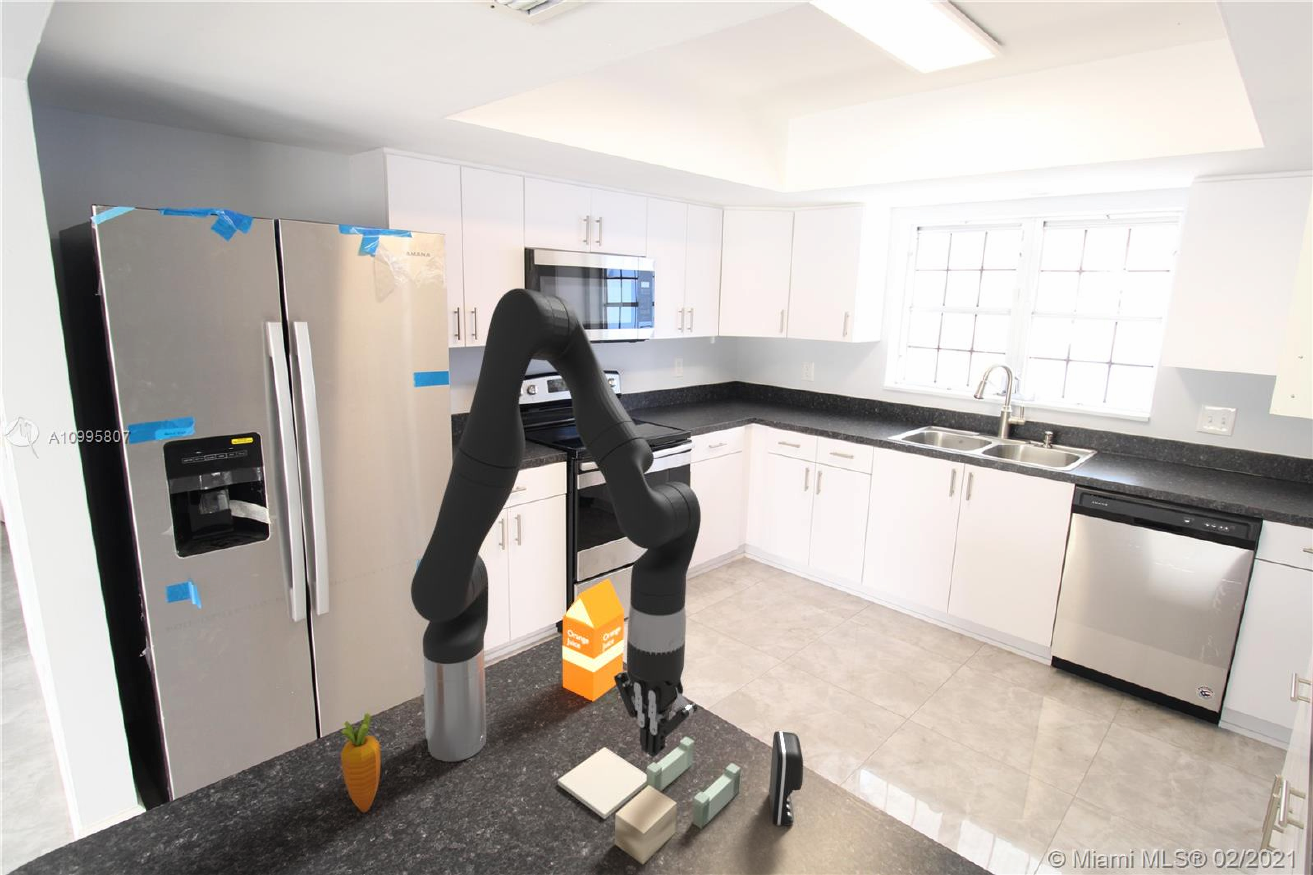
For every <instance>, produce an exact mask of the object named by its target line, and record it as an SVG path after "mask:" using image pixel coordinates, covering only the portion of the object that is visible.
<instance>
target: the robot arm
mask: <svg viewBox="0 0 1313 875" xmlns="http://www.w3.org/2000/svg"><path fill="white" fill-rule="evenodd" d="M532 360H534V361H535V360H537V361H544V362H545V361H547V362H548V363H549V364H550V365H551V366H552V368H553V369H554V370H555V371H556V372H557V374H558V375H559V376H560V377H561V379H562V380H563V382H564V383H565V386H566V387H567V389H568V392H569V394H570V398H571V405H572V412H573V419H574V423H575V424H574V425H575V428H576V431H577V433H578V434H577V435H578V436H579V439H580V440H581V442H582V444H583V446H584V449H586V451H587V452H588V454H589V456H590V457H591V459H592V460H593V462H594V464H595V465H596V467H597V468H598V471H599V472H600V473H601V474H602V476H603V478H604V481H605V485H606V488H607V492H608V494H609V498H610V501H611V504H612V508H613V511H614V514H615V517H616V521H617V523H618V526H619V527H620V530H621V532H622V533H623V535H624V536H625V537H626V538H627V539H628V540H629V541H630V542H631V543H633V545H636V546H637V547H640V548H642V549H646V551H645V552H644V553H643V554H642V555H641V556H640V557H638V558H637V559H636V560H635V561H634V563H633V565H632V568H631V577H630V598H629V599H630V601H629V602H630V603H629V609H628V613H627V614H628V616H627V633H626V634H627V640H626V669H623V671H621V672H620V673H618V674H617V675H615V676H614V680H615V683H616V685H615V686H616V687H617V690H618V692H619V695H620V697H621V699H622V702H623V704H624V706H625V709H626V711H627V713H628V716H629V717H630V718H632V719H633V718H635V719H636V720H637V724H638V726H639V743H640V746H641V751H642V752H644V753H645V754H648V756H650V757H651V758H655V757H657V755H659V754H661V753H662V752H663V751H664V750H665V748H666V738H667V737H668V736H669V735H671V734H672V733H674V731H676V730H677V729H679V728H680V727H681V726H682V725H683V724H684V723H685V722H686V721H687V720H688V719H689V718H690V717H692V716H693V715H694V714H695V713H696V712H697V710H698V706H697V704H696V703H695V702H693V701H691V702H688V700H687V699H686V697H685V696H684V695H683V693H684V686H683V683H682V680H681V679H682V675H683V671H684V668H685V652H686V651H685V650H686V632H687V631H686V630H687V616H686V594H687V593H686V590H687V589H686V588H687V573H688V570H689V566H690V564H691V562H692V559H693V554H694V551H695V547H696V543H697V541H698V538H699V533H700V527H701V522H702V521H701V520H702V518H701V516H702V513H701V512H702V511H701V506H700V503H699V500H698V497H697V495H696V493H695V492H694V490H693V489H692V488H691V487H690V486H689V485H688V484H686V483H683V482H680V481H669V482H665V483H662V484H659V485H655V486H652V487H650V486H649V484H648V482H647V480H646V477H645V474H646V473H647V472H648V471H649V470H650V469H651V468H652V466H653V463H654V460H655V458H654V453H653V450H652V449H651V446H649V443H648V442H647V441H646V439H645V437H644V436H643V435H642V433H641V431H640V430H639V428H638V427H637V425H636V424H635V423H634V421H633V419H632V418H631V417H630V415H629V414H628V412H627V411H626V409H625V408H624V406H623V404H622V403H621V401H620V400H619V398H618V396H617V395H616V393H615V391H614V389H613V387H612V385H611V383H610V381H609V379H608V378H607V375H606V373H605V371H604V368H603V367H602V365H601V362H600V361H599V358H598V356H597V354H596V352H595V350H594V348H593V346H592V343H591V341H590V339H589V336H588V334H587V332H586V329H585V327H584V326H583V323H582V321H581V320H580V317H579V315H578V312H576V310H575V308H574V307H573V305H572V304H571V303H569V302H568V301H567V300H566V299H564V298H562V297H560V296H557V295H554V294H550V293H546V292H541V291H537V290H534V289H527V288H520V287H519V288H512V289H511V290H508V291H507V292H505V293H504V294H503V295H502V297H501V298H500V299H499V300H498V302H497V304H496V306H495V308H494V311H493V313H492V316H491V319H490V323H489V327H488V330H487V335H486V341H485V347H484V350H483V357H482V361H481V362H482V363H481V366H480V370H479V371H480V372H479V376H478V380H477V384H476V389H475V391H474V395H473V398H472V403H471V406H470V408H469V409H470V410H469V413H468V415H467V416H468V417H467V420H466V423H465V425H464V426H465V427H464V430H463V432H462V435H461V438H460V439H459V443H458V446H457V450H456V452H455V455H454V459H453V463H452V466H451V469H450V474H449V477H448V480H447V483H446V488H445V490H444V494H443V497H442V501H441V503H440V504H441V505H440V508H439V512H438V514H437V519H436V523H435V526H434V529H433V531H432V535H431V537H430V540H429V541H428V544H427V546H426V549H425V551H424V553H423V555H422V558H421V560H420V562H419V564H418V567H417V568H416V571H415V573H414V575H413V577H412V581H411V586H410V595H411V596H410V597H411V602H412V604H413V607H414V609H415V610H416V612H417V613H418V615H419V616H421V618H422V619H424V620H426V621H428V623H427V627H426V628H425V631H424V633H423V636H422V656H423V671H424V672H423V673H424V674H423V675H424V687H423V706H424V708H423V709H424V726H425V727H424V728H425V739H427V740H426V741H427V749H428V753H429V752H430V753H429V754H430V756H432V757H433V758H434V757H435V758H434V759H435V760H438V761H441V760H442V762H447V763H448V762H451V763H453V762H459V761H463V760H467V759H469V758H471V757H473V756H475V755H476V754H478V753H479V752H481V750H482V749H483V748H484V747H485V745H486V743H487V742H486V741H487V706H486V702H487V701H486V699H487V698H486V670H485V669H486V668H485V662H486V661H485V633H486V630H487V626H488V622H489V621H488V620H489V575H488V574H489V573H488V571H487V567H486V563H485V562H484V560H483V558H482V557H481V555H480V554H479V553H480V550H481V548H482V545H483V544H484V541H485V539H486V538H487V536H488V535H489V532H490V531H491V530H492V528H493V526H494V524H495V523H496V521H497V519H498V518H499V516H500V514H501V513H502V511H503V509H504V507H505V505H506V503H507V501H508V499H509V497H510V496H511V493H512V492H513V489H514V486H515V485H516V481H517V477H518V475H519V472H520V469H521V466H522V463H523V460H524V457H525V453H526V436H525V430H524V425H523V420H522V416H521V409H520V396H521V390H522V386H523V384H524V381H525V377H526V374H527V371H528V368H529V366H530V364H531V361H532ZM632 698H634V702H633V699H632ZM674 703H675V706H674V707H673V704H674ZM672 708H674V711H672V710H673V709H672ZM671 711H672V714H673V716H672V717H671V718H670V713H671ZM483 746H484V747H483Z"/></svg>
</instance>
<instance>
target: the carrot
mask: <svg viewBox="0 0 1313 875" xmlns="http://www.w3.org/2000/svg"><path fill="white" fill-rule="evenodd" d="M362 721H363V722H362V724H361V726H360V727H359V728H358V727H356V728H355V729H354V728H353V726H352V725H351V723H350V722H349V721H345V722H344V726H345V727H346V728H343V729H342V730H341V734H342V735H344V736H345V737H346V738H347V739H348V741H347V742H346V743H345V745H344V746H343V747H342V750H341V754H340V759H341V767H342V768H341V769H342V774H343V781H344V783H345V787H346V790H347V792H348V794H349V798H350V799H351V800H352V802H353V803H354V805H355V806H356V807H357V808H358V809H359V810H360V811H361V813H366V812H368V811H369V810H370V808H371V806H372V804H373V802H374V799H375V797H376V795H377V791H378V788H379V781H380V775H381V745H380V742H379V740H377V739H376V738H375V737H374V736H373V735H369V734H368V730H369V728H370V721H371V714H370V713H364V717H363V720H362ZM367 734H368V735H367Z"/></svg>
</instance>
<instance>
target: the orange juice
mask: <svg viewBox="0 0 1313 875" xmlns="http://www.w3.org/2000/svg"><path fill="white" fill-rule="evenodd" d="M624 622H625V610H624V608H623V606H622V604H621V601H620V600H619V598H618V595H617V593H616V591H615V589H614V587H613V585H612V581H610V578H606V579H605V580H603V581H601V582H599V583H598V584H596V585H594V586H593V587H590V588H588V589H586V590H585V591H583V592H581V593H579V594H578V596H577V598H576V599H575V600H574V602H573V603H572V604H571V606H570V607H569V609H568V610H566V612H565V614H564V615H563V616H562V687H563V688H565V689H566V690H568V691H571V692H573V693H575V694H577V695H579V696H582V697H583V696H584V697H583V698H585V699H587V700H589V701H591V700H592V702H594V701H596V700H597V699H598V698H600V697H601V696H603V695H604V694H605V693H607V692H608V691H610V689H612V688H614V687H615V686H617V685H616V683H615V680H614V676H615V675H617V674H618V673H620V672H621V671H623V670H624V669H623V666H624V665H623V664H624V644H625V643H624V628H625V627H624V624H625V623H624Z"/></svg>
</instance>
